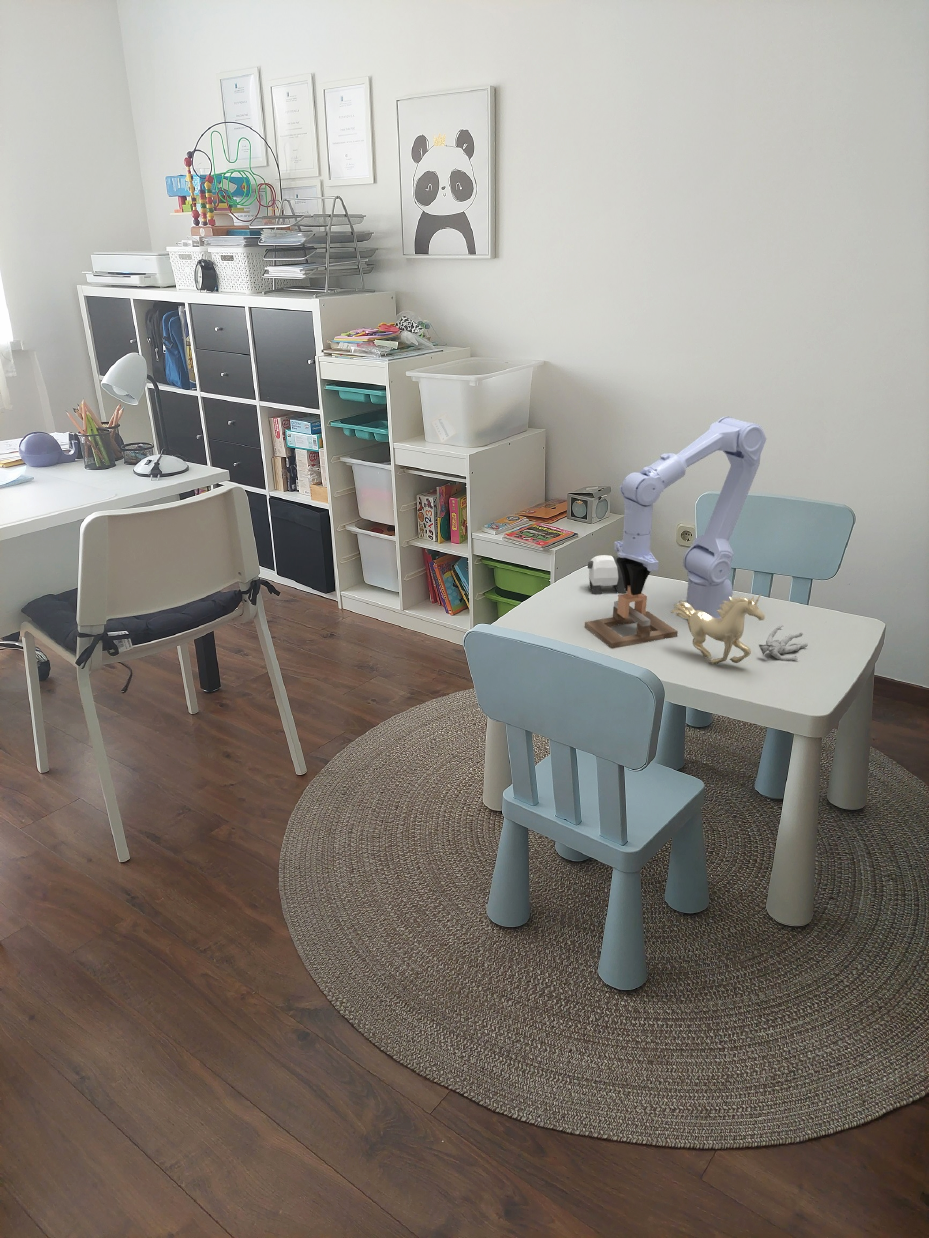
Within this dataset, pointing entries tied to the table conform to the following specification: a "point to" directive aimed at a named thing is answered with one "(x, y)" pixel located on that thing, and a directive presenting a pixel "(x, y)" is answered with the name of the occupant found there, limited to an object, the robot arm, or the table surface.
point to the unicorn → (720, 625)
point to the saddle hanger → (628, 597)
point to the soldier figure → (781, 645)
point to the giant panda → (605, 573)
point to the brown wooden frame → (643, 623)
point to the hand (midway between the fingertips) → (633, 592)
